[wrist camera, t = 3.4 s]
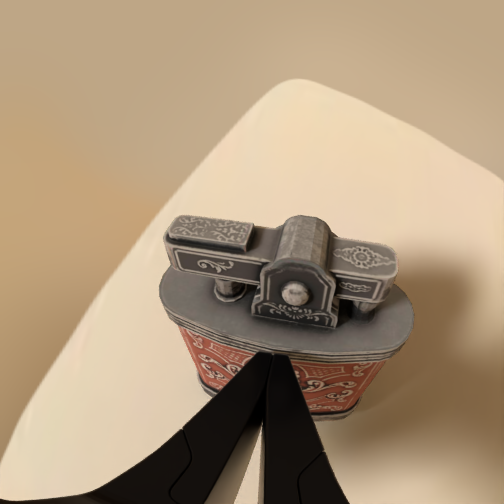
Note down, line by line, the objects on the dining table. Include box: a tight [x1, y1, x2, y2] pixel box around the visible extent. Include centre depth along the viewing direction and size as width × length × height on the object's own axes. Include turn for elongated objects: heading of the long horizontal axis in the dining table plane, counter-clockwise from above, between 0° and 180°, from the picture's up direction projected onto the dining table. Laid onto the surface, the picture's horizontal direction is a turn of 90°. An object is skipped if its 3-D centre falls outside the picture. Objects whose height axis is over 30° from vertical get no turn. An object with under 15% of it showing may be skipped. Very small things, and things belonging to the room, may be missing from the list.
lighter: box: [159, 215, 414, 421], centre depth 11 cm, size 8×3×10 cm, turn 78°
